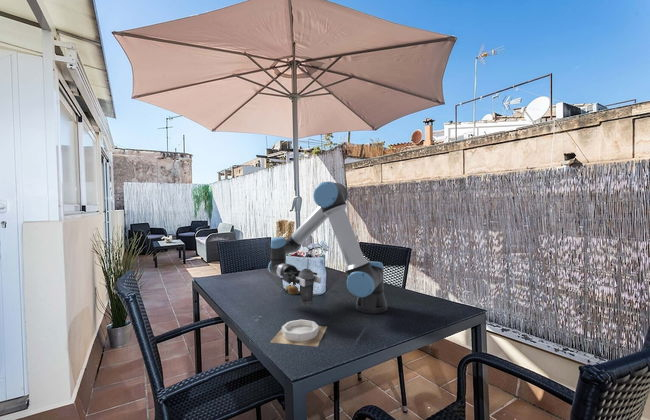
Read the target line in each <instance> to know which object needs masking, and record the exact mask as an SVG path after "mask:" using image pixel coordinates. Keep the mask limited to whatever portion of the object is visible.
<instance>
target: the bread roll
mask: <svg viewBox="0 0 650 420" xmlns="http://www.w3.org/2000/svg"><path fill="white" fill-rule="evenodd" d="M284 290H285V292H286V294H288V293H289V294H288V295H300V294H299V293H300V292H299V291H298V288H297V287H296V286H295V285H292V286H291V285H289V286H287V285H286V287H285V289H284Z"/></svg>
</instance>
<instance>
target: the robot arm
mask: <svg viewBox="0 0 650 420" xmlns="http://www.w3.org/2000/svg"><path fill="white" fill-rule="evenodd" d="M312 196H313V201H314V203H315V204H316V205H317V208H316V209H314V210H313V212H312V213H311V214H310V215H308V217H307V218H306V219H305V220H304V221H303V222H302V223H301V224H300V225H299V226H298V227H297V229H296V230H294V232H293V233H292V234H291V235H290V236H289V237H288V238H285V237H283V236H282V237H281V236H276V237H272V238H271V239H270V262H269V263H268V266H267V270H268V272H269V273H270V274H272V275H273V276H275V277H277V278H280V280H283V281H284V282H286V283H287V284H290V283H291V282H293V285H296V283H297V284H299V285H301V286H303V287H304V286H305V280H304V279H302V278H299V277H298V276H299V273H300V272H301V271H302V270H299V269H298V268H297V267H296V266H295V265H293V264H290V263H287V255H288V254H291V253H296V252H297V251H299V250H300V249H301V247H302V245H303V243H305V242H306V241H307V239H309V237H311V236H312V234H313V233H314V232H315V231H317V229H318V228H319V227H320V226H321V225H322V224H323V223H324V222H325V221H326V220H327V219H328V220H329V223H330V226H331V228H332V231H333V234H334V236H335V239H336V241H337V244H338V248H339V249H340V252H341V255H342V256H343V260H344V262H345V265H346V267H345V270H344V272H345V274H346V277H347V279H346V288H347V290H348V291H349V293H350V294H352V295H353V296H355V297H357V300H356V303H355V310H357V311H359V312H361V313H365V314H370V315H371V314H376V315H377V314H382V313H385V312H386V311H388V302H387V300H386V297H385V293H384V270H385V269H384V264H383V262H381V261H372V260H371V261H370V260H368V259H366V258H365V257H364V255H363V252H362V250H361V247H360V244H359V242H358V239H357V236H356V234H355V231H354V228H353V226H352V223H351V221H350V219H349V216H348V214H347V211H346V208H347V206H348V205H347V201H348V198H349V197H348V196H349V193H348V189H347V188H346V186H345V185H344V184H342V183H340V182H334V181H333V182H332V181H329V180H328V181H323V182H320V183H319V184H317V185H316V187H315V188H314V191H313V195H312ZM312 272H313V273H314V277H315V279H314V283H317V284H322V276H319V275H318V272H315V271H312Z"/></svg>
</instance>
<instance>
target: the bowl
mask: <svg viewBox="0 0 650 420" xmlns="http://www.w3.org/2000/svg"><path fill="white" fill-rule="evenodd" d="M319 326H320V325H319V324H317V322H316V321H313V320H308V319H307V320H306V319H297V320H290V321H287V322H286V323H284V324H283V325H282V326H281V329H282V333H283V337H284V338H285V339H286V340H289V341H293V342H304V341H309V340H312V339H314V338H315V337H316V336H317V335H318V332H319Z"/></svg>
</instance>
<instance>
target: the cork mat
mask: <svg viewBox="0 0 650 420" xmlns="http://www.w3.org/2000/svg"><path fill="white" fill-rule="evenodd" d="M318 326H319V332H318V335H317V336H316V337H315V338H314V339H312V340H309V341H304V342H293V341H289V340H286V339H285V338H284V337H283V333H282V328H281V329H280V330H279V331H278V332H277V334H276V335H275V336H274V337H273V338H272V339H271V340H270V342H269V343H273V344H281V345H282V344H283V345H284V344H285V345H294V346H306V347H316V348H317V347H319V344H320V342H321V340H322V338H323V336H324V334H325V333H326V331H327V328H328V326H323V325H318Z"/></svg>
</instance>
